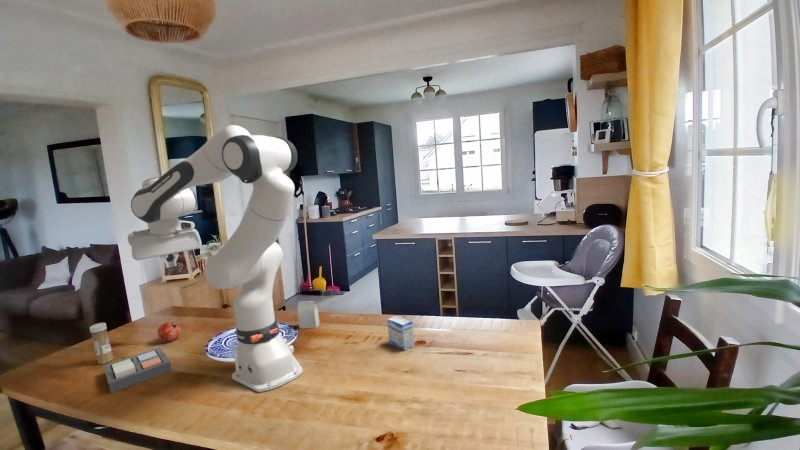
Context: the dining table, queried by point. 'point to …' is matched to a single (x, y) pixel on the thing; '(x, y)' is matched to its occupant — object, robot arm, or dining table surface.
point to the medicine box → (400, 332)
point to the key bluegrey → (147, 356)
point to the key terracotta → (150, 363)
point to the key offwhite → (124, 370)
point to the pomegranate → (168, 332)
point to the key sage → (121, 363)
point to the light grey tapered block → (308, 314)
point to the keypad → (137, 371)
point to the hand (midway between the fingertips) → (171, 267)
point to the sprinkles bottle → (101, 343)
